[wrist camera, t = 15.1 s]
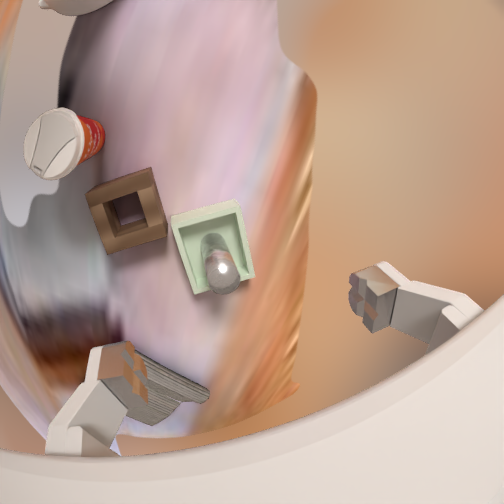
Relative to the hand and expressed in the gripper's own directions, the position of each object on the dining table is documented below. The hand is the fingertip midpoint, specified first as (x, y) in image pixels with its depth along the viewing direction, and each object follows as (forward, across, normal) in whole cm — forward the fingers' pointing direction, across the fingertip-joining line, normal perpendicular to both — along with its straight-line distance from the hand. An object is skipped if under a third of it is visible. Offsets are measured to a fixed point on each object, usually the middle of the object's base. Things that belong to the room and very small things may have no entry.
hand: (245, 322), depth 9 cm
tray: (+33, 0, +13) cm, 36 cm away
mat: (+33, +26, +43) cm, 60 cm away
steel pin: (+32, 0, +13) cm, 35 cm away
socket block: (+34, +10, +4) cm, 35 cm away
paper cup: (+34, +14, -8) cm, 38 cm away
